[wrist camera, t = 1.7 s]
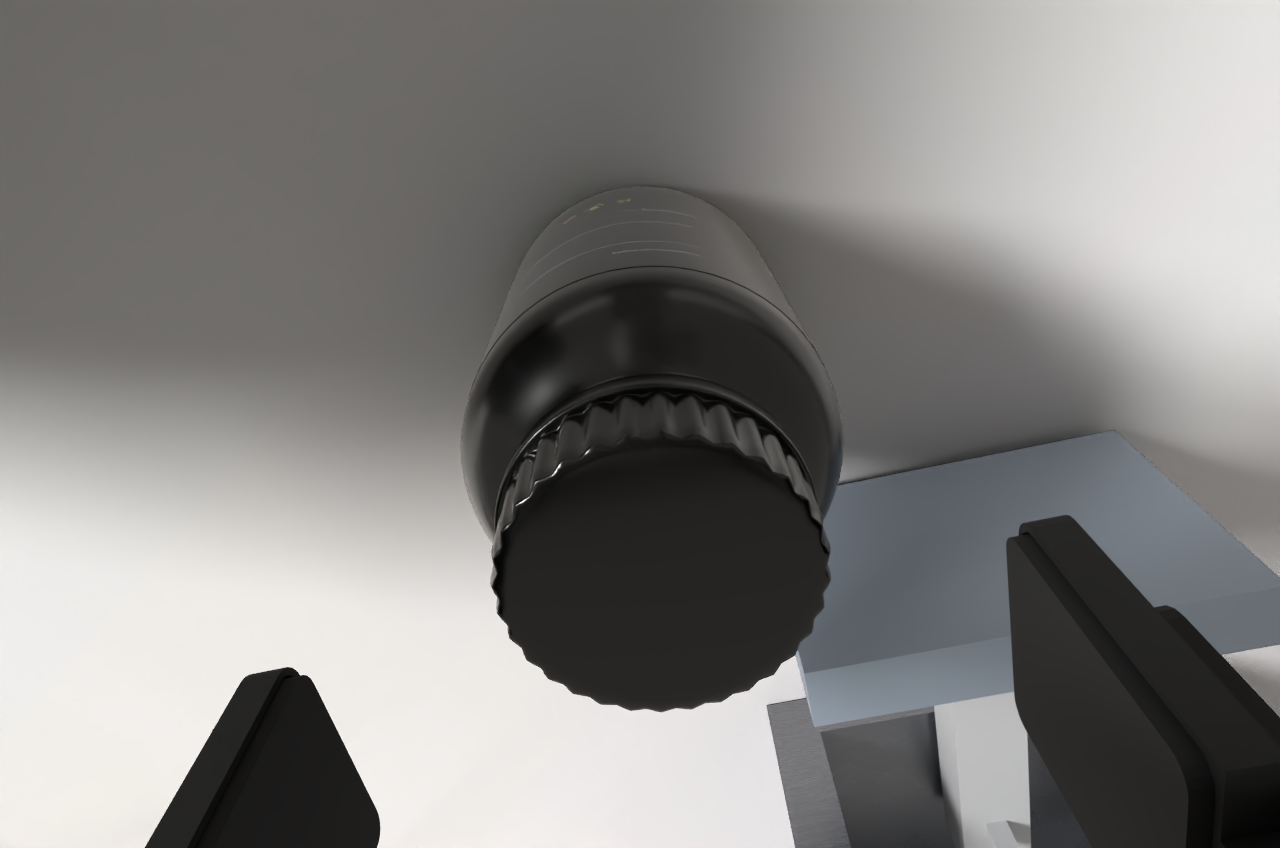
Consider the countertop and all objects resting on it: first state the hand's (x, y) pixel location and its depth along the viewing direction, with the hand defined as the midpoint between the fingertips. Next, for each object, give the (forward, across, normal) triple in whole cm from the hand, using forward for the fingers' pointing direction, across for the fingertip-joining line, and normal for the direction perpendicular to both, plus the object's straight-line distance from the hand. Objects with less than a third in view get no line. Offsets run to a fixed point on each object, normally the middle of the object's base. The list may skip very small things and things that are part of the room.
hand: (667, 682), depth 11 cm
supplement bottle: (+13, 0, -1) cm, 13 cm away
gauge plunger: (+13, -8, +12) cm, 19 cm away
